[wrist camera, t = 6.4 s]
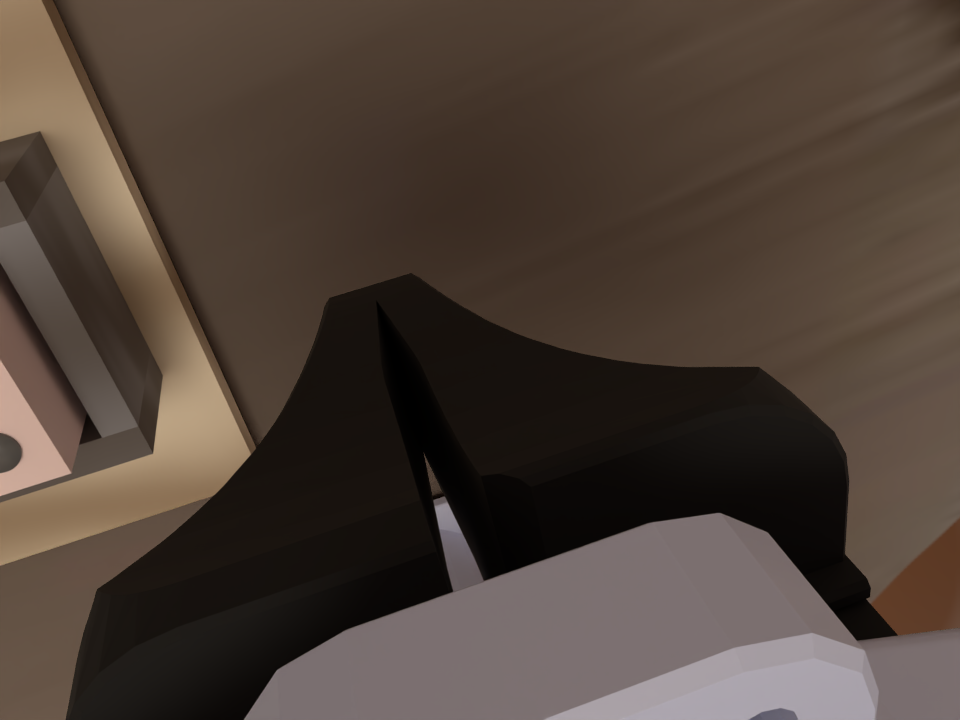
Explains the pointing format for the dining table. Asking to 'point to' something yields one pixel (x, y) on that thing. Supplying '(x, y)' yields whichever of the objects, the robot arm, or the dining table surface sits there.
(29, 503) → the console
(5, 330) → the tile three
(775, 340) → the dining table surface
